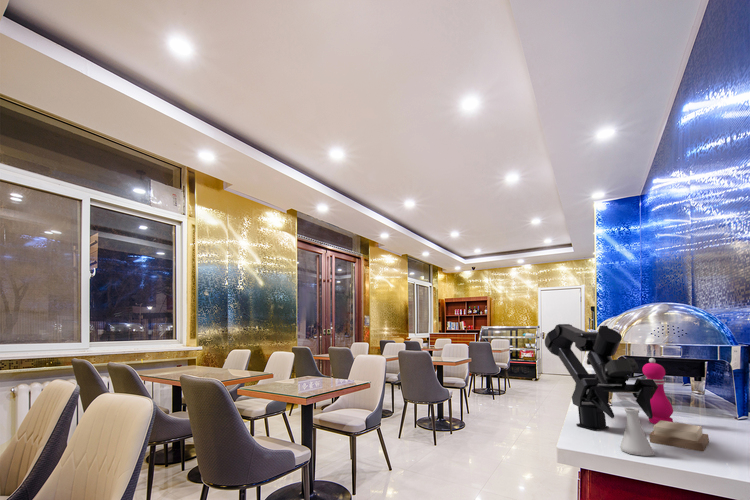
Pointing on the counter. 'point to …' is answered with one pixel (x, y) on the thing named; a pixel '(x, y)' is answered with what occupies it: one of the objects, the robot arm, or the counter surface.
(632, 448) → the flask
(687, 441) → the tower base
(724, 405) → the counter surface
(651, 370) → the pepper mill
